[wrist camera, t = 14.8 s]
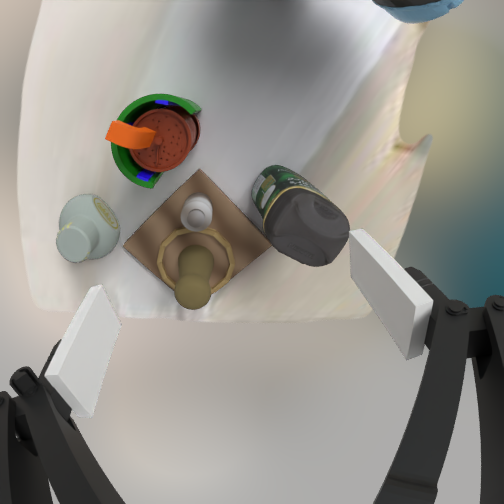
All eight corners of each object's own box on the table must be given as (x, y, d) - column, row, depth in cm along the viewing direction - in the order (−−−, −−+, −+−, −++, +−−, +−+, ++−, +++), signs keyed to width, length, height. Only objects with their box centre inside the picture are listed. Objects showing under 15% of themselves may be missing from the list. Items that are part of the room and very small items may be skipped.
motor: (190, 167, 47) (172, 207, 29) (135, 154, 45) (86, 187, 27) (209, 104, 43) (202, 101, 25) (152, 91, 41) (108, 83, 23)
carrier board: (199, 168, 47) (196, 178, 40) (270, 241, 54) (277, 262, 47) (125, 242, 51) (112, 263, 44) (195, 303, 57) (193, 329, 51)
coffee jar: (319, 185, 50) (367, 227, 33) (294, 225, 53) (328, 283, 36) (268, 155, 47) (297, 183, 31) (243, 198, 50) (256, 248, 33)
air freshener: (61, 209, 47) (34, 232, 38) (92, 181, 46) (67, 199, 37) (98, 256, 51) (78, 286, 43) (131, 232, 50) (114, 259, 41)
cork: (188, 281, 54) (183, 321, 44) (171, 253, 51) (162, 289, 41) (220, 269, 53) (221, 307, 43) (204, 239, 50) (202, 273, 41)
